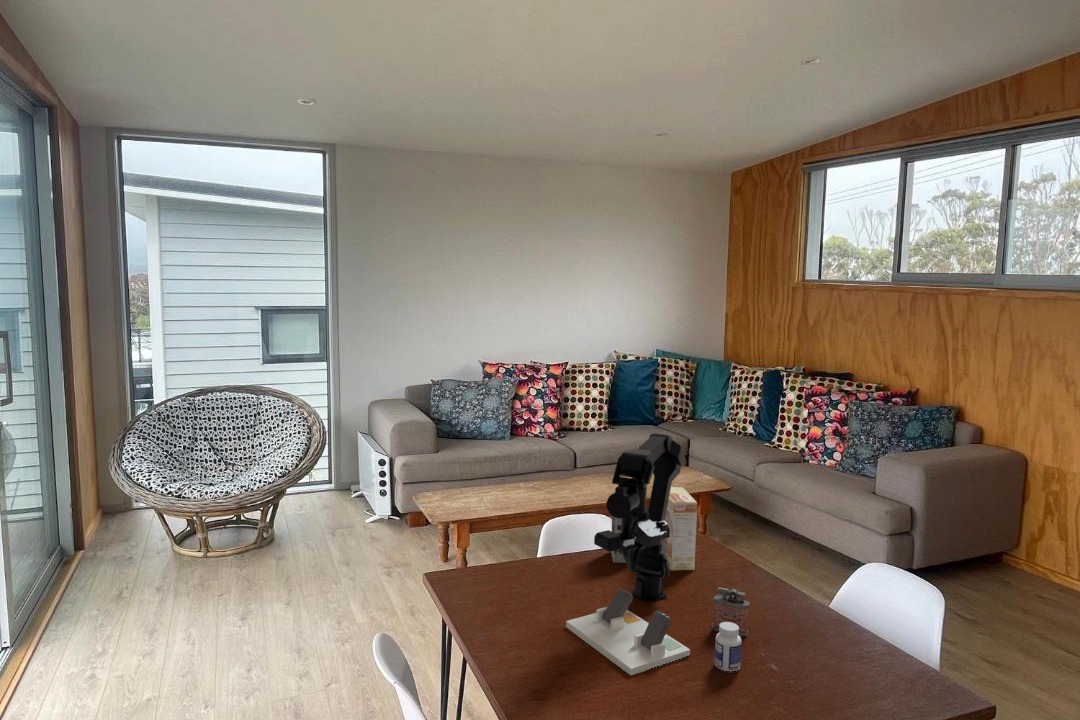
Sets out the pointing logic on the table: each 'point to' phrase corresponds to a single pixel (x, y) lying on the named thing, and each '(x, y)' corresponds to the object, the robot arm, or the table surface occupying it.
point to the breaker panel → (630, 639)
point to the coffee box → (617, 554)
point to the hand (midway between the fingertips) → (631, 570)
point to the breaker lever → (618, 605)
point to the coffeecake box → (681, 529)
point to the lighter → (731, 609)
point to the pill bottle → (728, 647)
